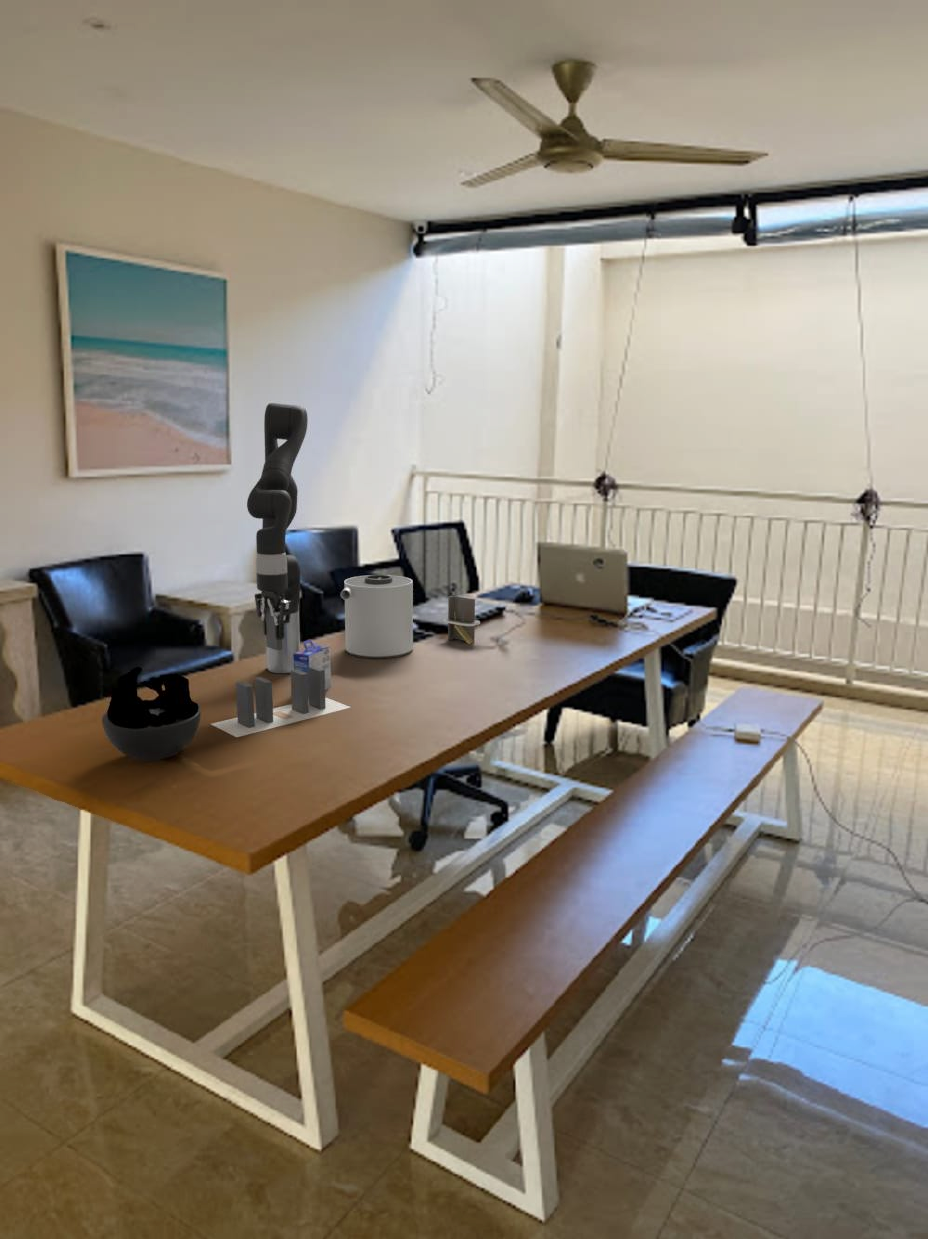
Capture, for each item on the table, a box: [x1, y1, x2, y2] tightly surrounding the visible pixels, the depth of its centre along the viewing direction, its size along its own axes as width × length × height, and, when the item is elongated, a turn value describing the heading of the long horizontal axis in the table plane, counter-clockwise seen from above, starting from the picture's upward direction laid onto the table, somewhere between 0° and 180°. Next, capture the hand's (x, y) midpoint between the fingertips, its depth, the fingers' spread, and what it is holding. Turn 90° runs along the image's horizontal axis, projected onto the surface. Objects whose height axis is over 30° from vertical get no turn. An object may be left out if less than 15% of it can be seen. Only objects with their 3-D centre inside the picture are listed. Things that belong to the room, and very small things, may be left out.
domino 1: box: [235, 680, 255, 728], centre depth 213 cm, size 2×5×10 cm, turn 44°
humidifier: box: [340, 574, 414, 660], centre depth 283 cm, size 22×21×23 cm
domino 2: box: [254, 676, 274, 723], centre depth 216 cm, size 2×5×10 cm, turn 44°
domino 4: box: [290, 669, 309, 714], centre depth 223 cm, size 2×5×10 cm, turn 43°
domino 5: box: [308, 666, 326, 710], centre depth 226 cm, size 2×5×10 cm, turn 43°
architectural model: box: [442, 595, 481, 645], centre depth 296 cm, size 20×25×15 cm
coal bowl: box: [101, 666, 202, 762], centre depth 194 cm, size 20×20×19 cm
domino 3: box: [265, 609, 282, 650], centre depth 229 cm, size 2×5×10 cm, turn 43°
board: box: [210, 696, 351, 738], centre depth 221 cm, size 12×32×1 cm, turn 133°
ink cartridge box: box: [293, 638, 332, 698], centre depth 239 cm, size 10×6×14 cm, turn 155°
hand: (273, 636), depth 230 cm, fingers closed on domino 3, 5 cm apart
